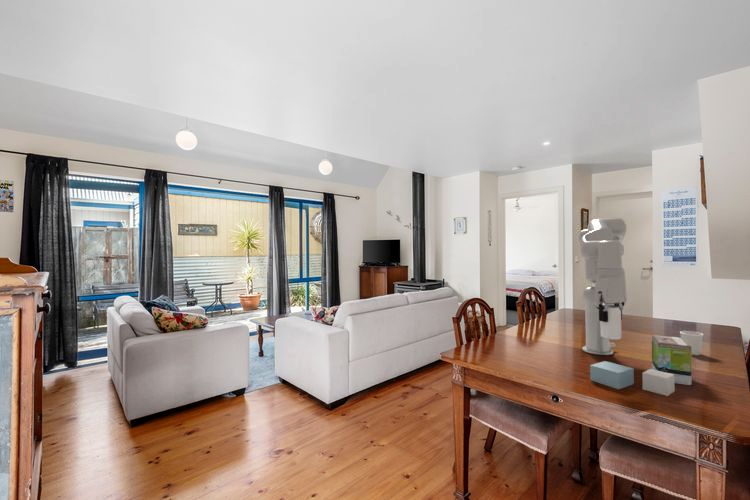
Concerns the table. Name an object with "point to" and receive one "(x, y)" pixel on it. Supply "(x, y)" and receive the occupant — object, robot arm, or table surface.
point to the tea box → (672, 357)
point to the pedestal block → (612, 374)
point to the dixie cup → (693, 340)
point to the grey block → (658, 382)
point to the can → (612, 324)
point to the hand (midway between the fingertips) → (610, 320)
